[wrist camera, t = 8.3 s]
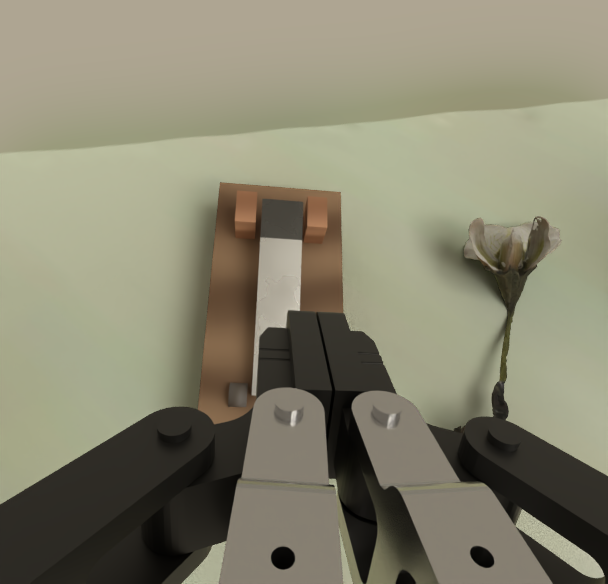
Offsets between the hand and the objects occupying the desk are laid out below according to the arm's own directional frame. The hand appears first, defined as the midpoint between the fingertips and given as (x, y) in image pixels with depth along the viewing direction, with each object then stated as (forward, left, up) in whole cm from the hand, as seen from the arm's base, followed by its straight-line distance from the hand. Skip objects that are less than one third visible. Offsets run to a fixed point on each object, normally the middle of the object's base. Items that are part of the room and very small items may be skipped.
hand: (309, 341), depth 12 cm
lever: (+5, -7, -18) cm, 20 cm away
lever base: (+5, -7, -23) cm, 25 cm away
